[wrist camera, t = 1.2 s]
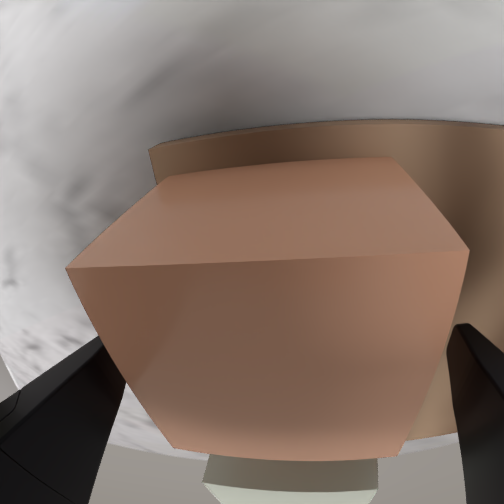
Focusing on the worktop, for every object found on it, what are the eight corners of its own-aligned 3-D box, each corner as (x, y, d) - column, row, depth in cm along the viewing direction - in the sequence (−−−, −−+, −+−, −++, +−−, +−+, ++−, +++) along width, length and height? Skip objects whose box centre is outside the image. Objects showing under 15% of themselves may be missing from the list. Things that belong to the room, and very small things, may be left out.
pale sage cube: (371, 383, 14) (378, 489, 9) (357, 445, 17) (356, 521, 13) (229, 384, 15) (201, 482, 11) (250, 444, 19) (235, 517, 14)
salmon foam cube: (391, 157, 9) (469, 249, 4) (380, 332, 12) (397, 456, 7) (168, 176, 10) (65, 268, 6) (212, 335, 14) (173, 447, 9)
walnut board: (591, 141, 7) (605, 148, 6) (494, 411, 16) (497, 422, 15) (160, 143, 11) (148, 149, 10) (245, 431, 20) (243, 443, 19)
